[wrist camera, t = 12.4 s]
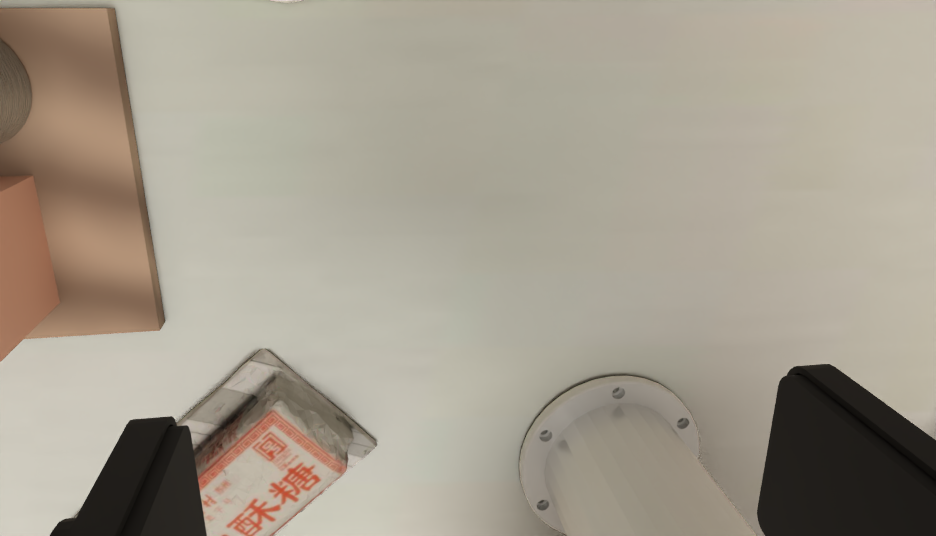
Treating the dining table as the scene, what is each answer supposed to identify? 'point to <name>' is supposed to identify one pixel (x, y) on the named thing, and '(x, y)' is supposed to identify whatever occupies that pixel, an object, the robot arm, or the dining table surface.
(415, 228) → the dining table surface
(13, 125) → the tin
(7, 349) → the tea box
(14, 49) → the shelf board
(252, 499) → the packaged product
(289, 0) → the knuckle duster
